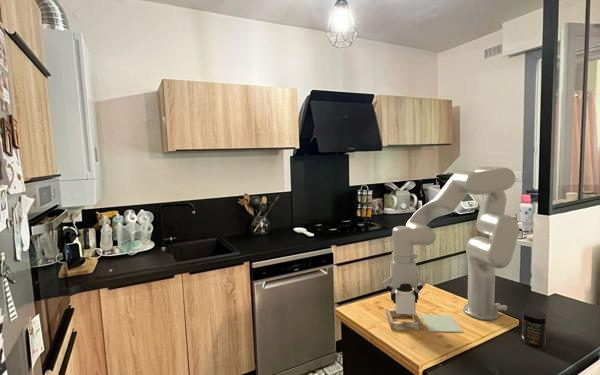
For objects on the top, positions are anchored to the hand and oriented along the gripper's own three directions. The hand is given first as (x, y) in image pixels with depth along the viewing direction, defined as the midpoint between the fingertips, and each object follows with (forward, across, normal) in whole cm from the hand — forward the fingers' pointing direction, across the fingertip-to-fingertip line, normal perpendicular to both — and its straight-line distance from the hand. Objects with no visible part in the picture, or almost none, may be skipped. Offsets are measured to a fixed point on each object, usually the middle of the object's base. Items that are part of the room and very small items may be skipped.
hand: (404, 301), depth 127 cm
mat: (+9, -13, +1) cm, 16 cm away
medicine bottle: (+4, 0, 0) cm, 4 cm away
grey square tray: (+8, +1, 0) cm, 8 cm away
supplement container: (+10, -40, +13) cm, 43 cm away
